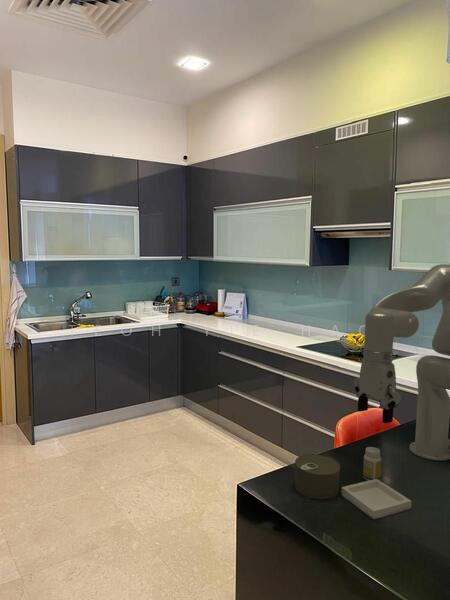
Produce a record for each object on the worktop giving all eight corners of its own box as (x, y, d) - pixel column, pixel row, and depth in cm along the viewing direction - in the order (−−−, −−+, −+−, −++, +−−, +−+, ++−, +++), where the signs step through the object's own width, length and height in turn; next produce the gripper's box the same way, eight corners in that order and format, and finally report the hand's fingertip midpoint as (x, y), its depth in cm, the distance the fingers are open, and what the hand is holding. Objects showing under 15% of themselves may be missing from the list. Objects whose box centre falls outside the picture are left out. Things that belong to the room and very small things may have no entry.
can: (349, 492, 119) (350, 467, 118) (314, 504, 112) (316, 478, 112) (318, 473, 129) (319, 450, 128) (285, 483, 123) (286, 459, 122)
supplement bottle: (378, 474, 129) (379, 446, 128) (382, 482, 124) (384, 453, 123) (361, 473, 129) (362, 445, 128) (364, 481, 124) (366, 452, 124)
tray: (376, 486, 122) (376, 478, 122) (410, 508, 111) (411, 500, 111) (341, 494, 117) (341, 487, 117) (373, 519, 106) (374, 511, 106)
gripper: (412, 362, 117) (408, 425, 118) (366, 349, 132) (363, 405, 134) (390, 364, 114) (387, 429, 115) (346, 351, 129) (343, 408, 131)
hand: (374, 416), depth 125 cm, fingers open, 9 cm apart
